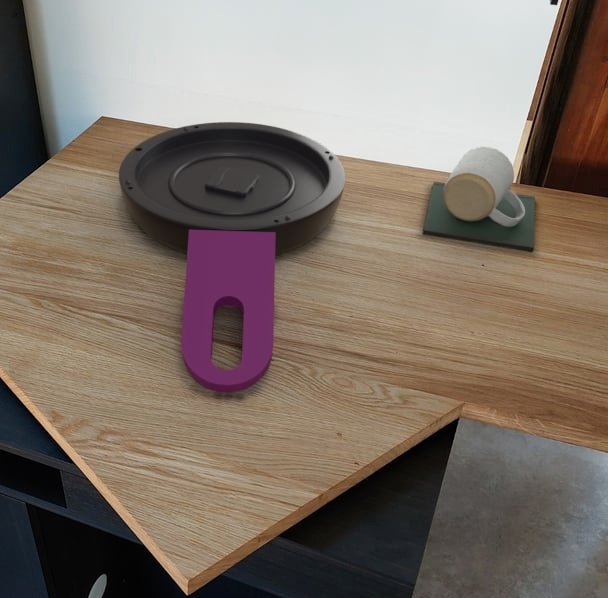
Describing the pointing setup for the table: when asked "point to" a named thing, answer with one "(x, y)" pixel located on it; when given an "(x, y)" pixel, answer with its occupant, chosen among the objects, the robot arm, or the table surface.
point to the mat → (481, 224)
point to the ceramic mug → (482, 187)
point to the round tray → (231, 183)
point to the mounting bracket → (229, 303)
